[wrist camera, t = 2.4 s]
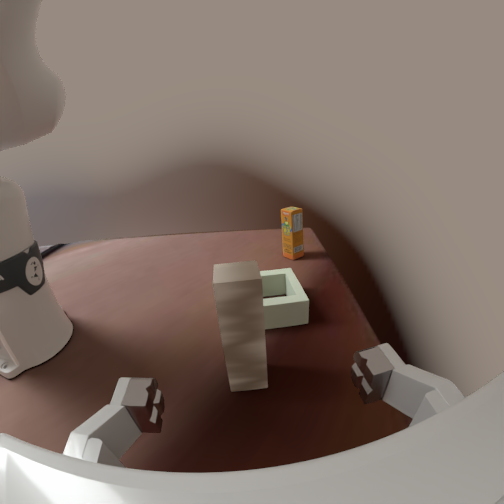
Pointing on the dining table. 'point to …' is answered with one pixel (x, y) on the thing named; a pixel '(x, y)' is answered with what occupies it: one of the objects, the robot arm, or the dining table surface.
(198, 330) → the dining table surface
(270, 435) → the dining table surface
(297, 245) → the supplement box
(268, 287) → the block
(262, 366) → the peg
